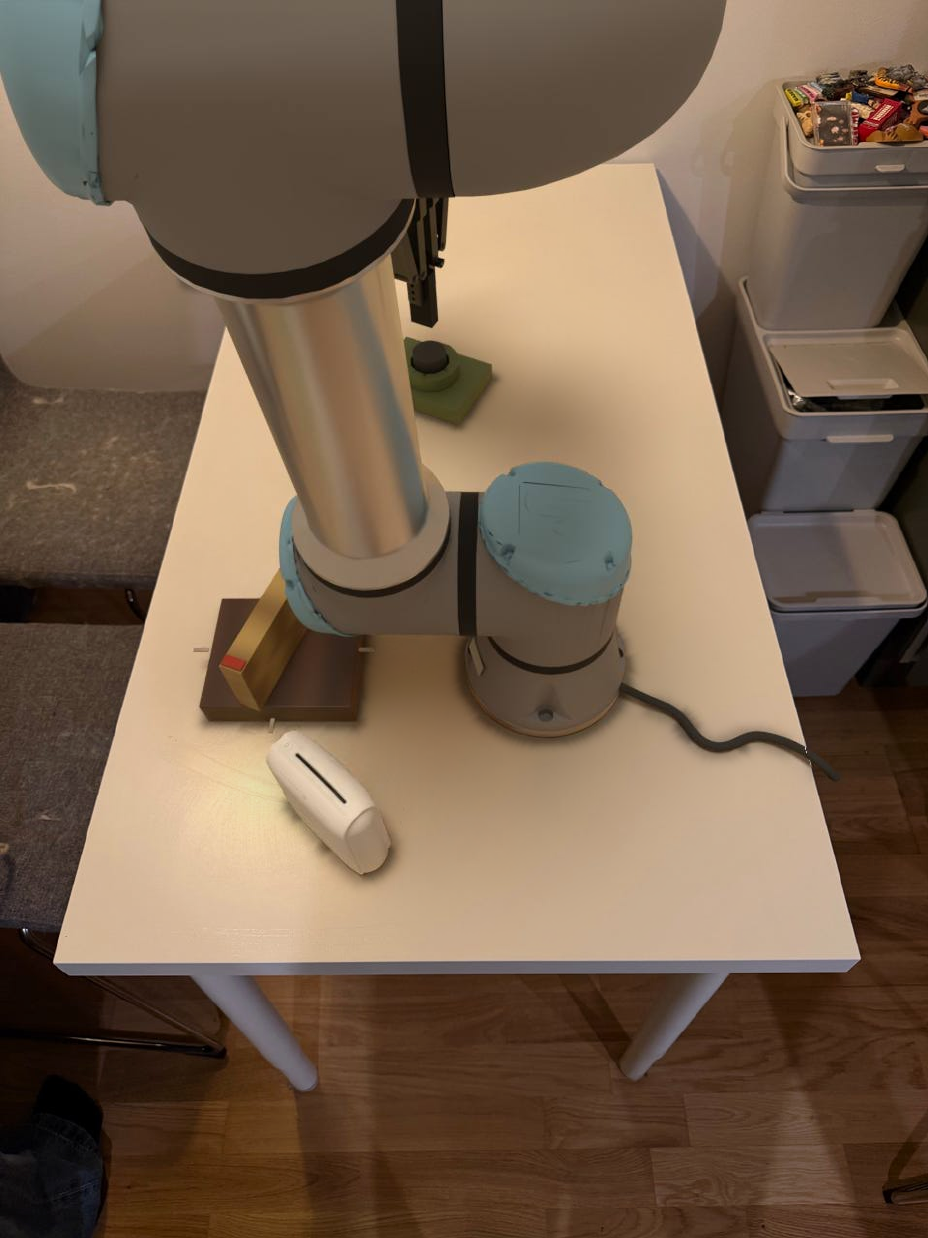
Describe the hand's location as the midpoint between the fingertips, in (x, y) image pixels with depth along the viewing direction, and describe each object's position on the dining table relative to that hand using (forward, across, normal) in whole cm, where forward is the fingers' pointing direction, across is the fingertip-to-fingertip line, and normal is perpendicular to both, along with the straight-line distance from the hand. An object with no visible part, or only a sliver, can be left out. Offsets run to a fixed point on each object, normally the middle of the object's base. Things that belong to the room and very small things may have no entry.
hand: (424, 320), depth 95 cm
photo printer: (+10, +52, +20) cm, 56 cm away
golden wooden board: (+6, +40, +7) cm, 42 cm away
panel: (+10, +40, +7) cm, 42 cm away
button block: (+10, 0, 0) cm, 10 cm away
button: (+6, 0, 0) cm, 6 cm away
